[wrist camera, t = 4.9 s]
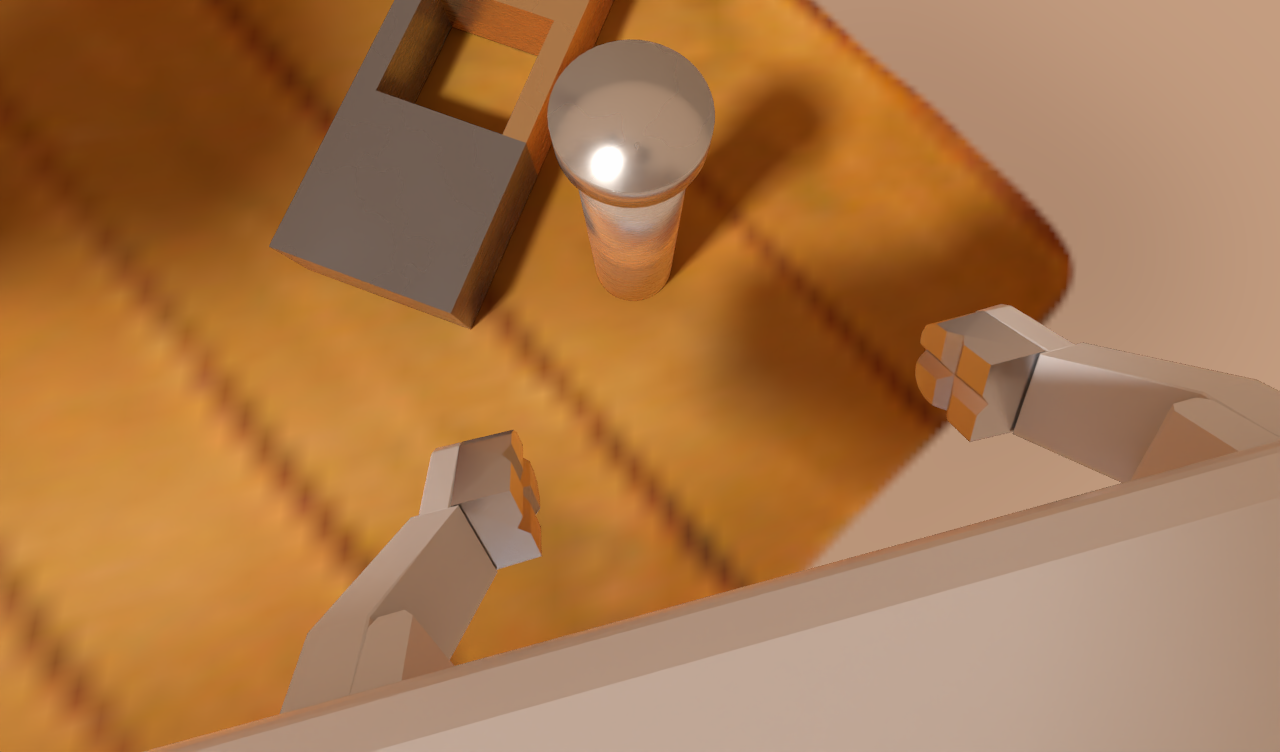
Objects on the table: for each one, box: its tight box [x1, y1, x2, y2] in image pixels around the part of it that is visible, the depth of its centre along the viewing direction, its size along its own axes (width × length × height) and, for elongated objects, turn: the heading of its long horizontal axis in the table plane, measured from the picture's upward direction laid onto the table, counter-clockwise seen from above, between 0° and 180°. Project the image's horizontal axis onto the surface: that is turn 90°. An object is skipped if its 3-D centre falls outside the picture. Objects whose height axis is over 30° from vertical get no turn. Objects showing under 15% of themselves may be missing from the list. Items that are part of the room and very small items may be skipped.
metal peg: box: [547, 40, 715, 301], centre depth 17 cm, size 4×4×10 cm
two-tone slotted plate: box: [269, 0, 614, 329], centre depth 22 cm, size 20×7×2 cm, turn 160°
